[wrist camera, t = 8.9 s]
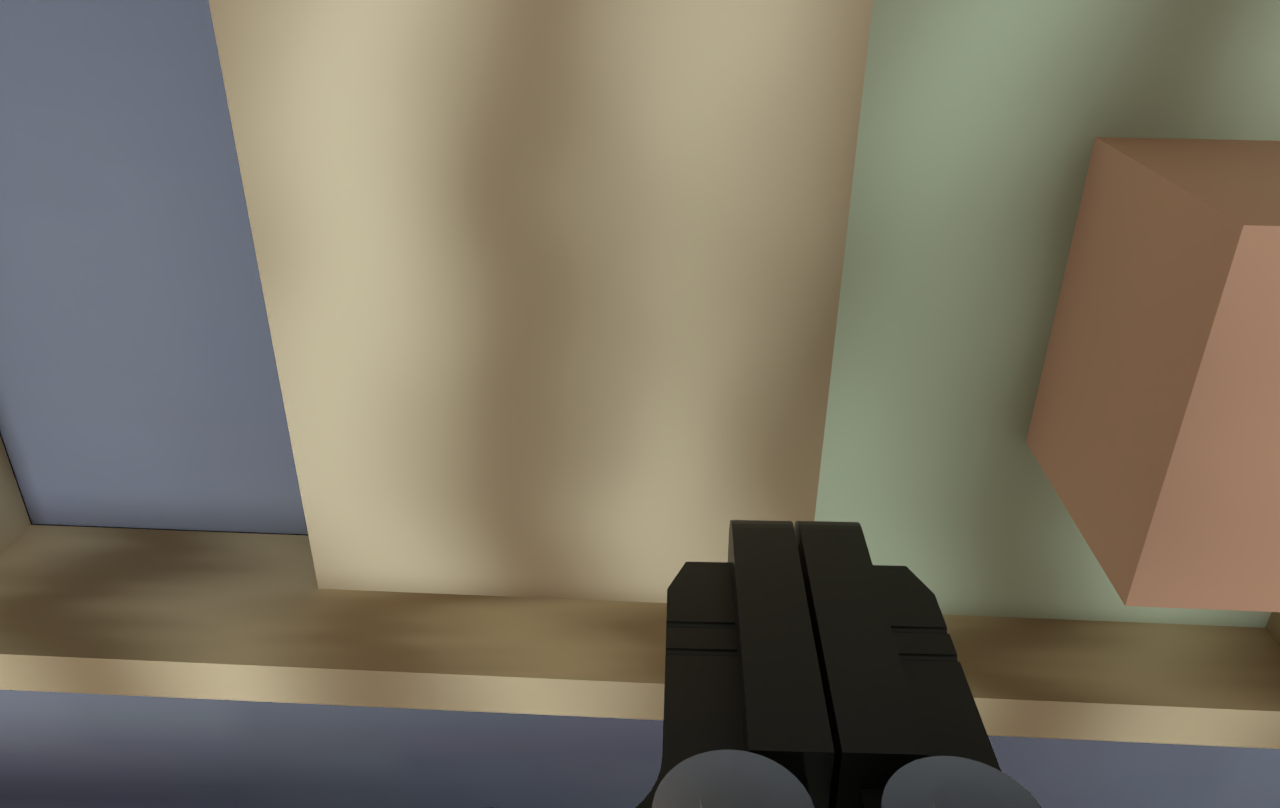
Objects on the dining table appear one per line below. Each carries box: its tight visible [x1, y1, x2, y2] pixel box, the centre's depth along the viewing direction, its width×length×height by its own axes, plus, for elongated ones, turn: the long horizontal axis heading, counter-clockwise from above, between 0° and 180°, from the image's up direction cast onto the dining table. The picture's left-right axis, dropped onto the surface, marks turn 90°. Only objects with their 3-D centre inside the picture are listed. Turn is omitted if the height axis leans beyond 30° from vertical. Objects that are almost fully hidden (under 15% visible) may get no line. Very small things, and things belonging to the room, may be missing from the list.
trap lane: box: [0, 0, 1280, 749], centre depth 18 cm, size 40×16×4 cm, turn 90°
